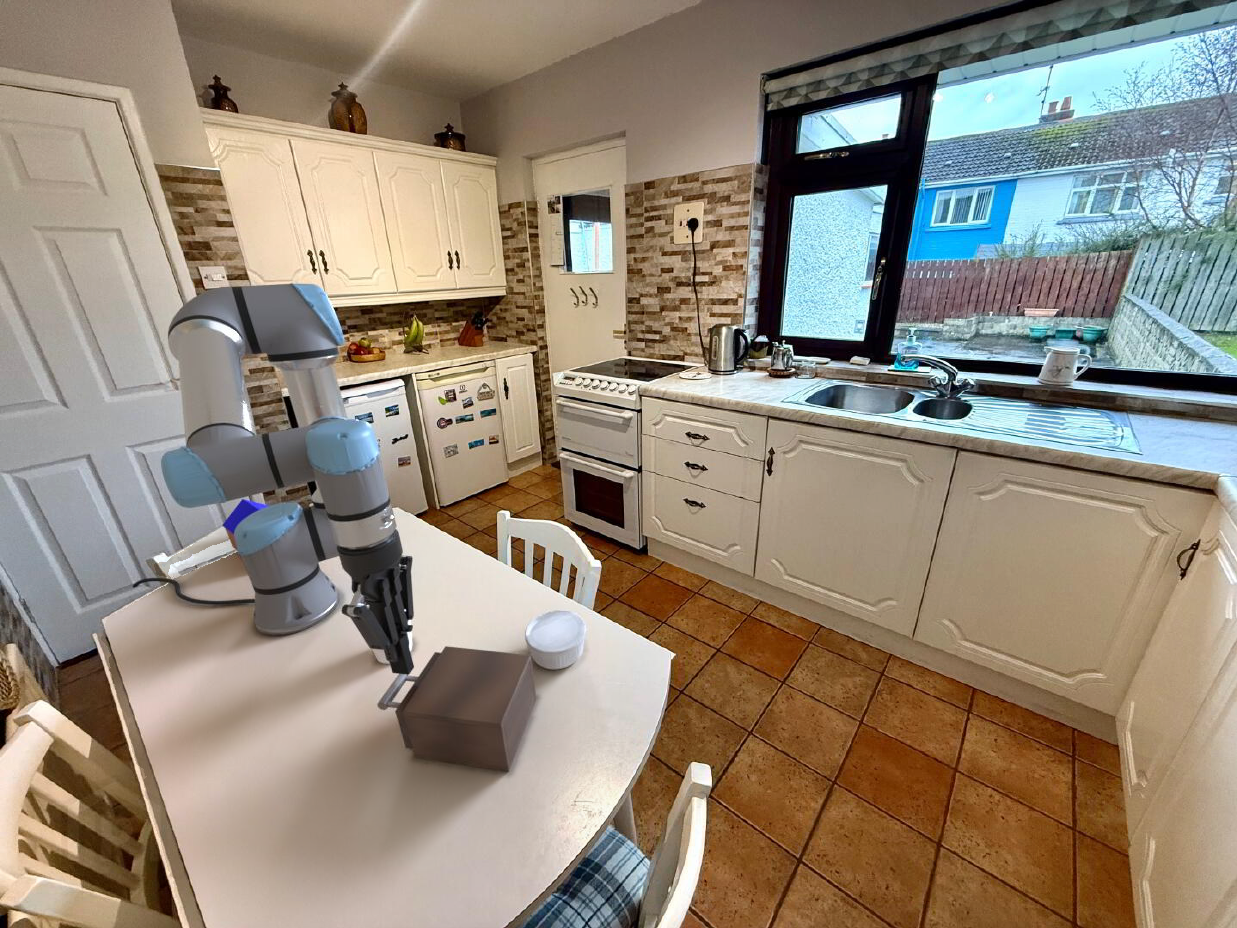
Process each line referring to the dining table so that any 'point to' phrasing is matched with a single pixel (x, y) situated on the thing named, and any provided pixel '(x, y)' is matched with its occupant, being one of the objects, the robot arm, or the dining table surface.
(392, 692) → the drawer
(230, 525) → the house
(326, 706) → the dining table surface
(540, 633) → the ramekin
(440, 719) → the cabinet
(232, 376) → the robot arm
